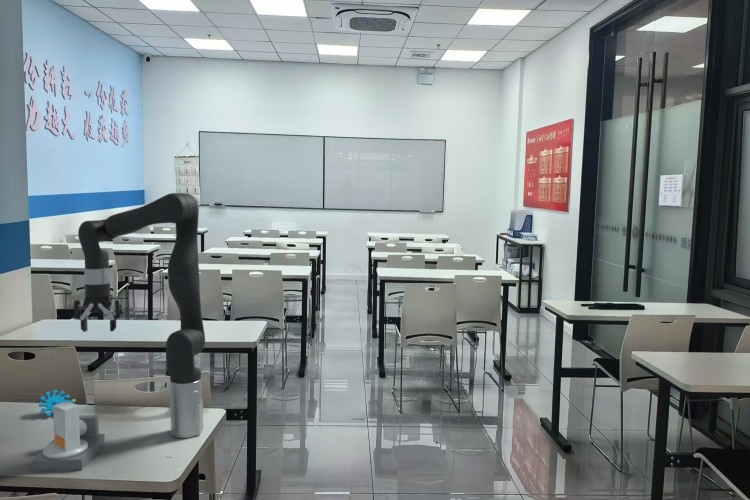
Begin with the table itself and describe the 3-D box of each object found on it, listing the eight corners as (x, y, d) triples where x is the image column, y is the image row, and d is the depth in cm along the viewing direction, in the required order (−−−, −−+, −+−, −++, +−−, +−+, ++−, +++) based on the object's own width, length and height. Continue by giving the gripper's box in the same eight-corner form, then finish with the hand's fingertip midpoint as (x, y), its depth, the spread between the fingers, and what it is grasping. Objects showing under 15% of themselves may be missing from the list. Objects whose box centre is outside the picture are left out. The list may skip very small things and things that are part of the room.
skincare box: (53, 446, 160) (52, 405, 159) (68, 441, 164) (67, 400, 163) (65, 452, 157) (64, 409, 156) (80, 446, 160) (79, 405, 159)
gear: (39, 416, 188) (39, 389, 193) (36, 425, 191) (35, 398, 197) (76, 414, 195) (75, 387, 200) (72, 422, 198) (71, 396, 203)
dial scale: (104, 443, 172) (103, 414, 171) (82, 470, 155) (81, 438, 154) (59, 444, 171) (58, 415, 170) (31, 471, 154) (30, 439, 153)
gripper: (124, 280, 190) (125, 328, 191) (79, 280, 188) (80, 328, 190) (116, 283, 182) (117, 333, 184) (69, 283, 181) (71, 334, 182)
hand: (98, 331), depth 187 cm, fingers open, 8 cm apart
